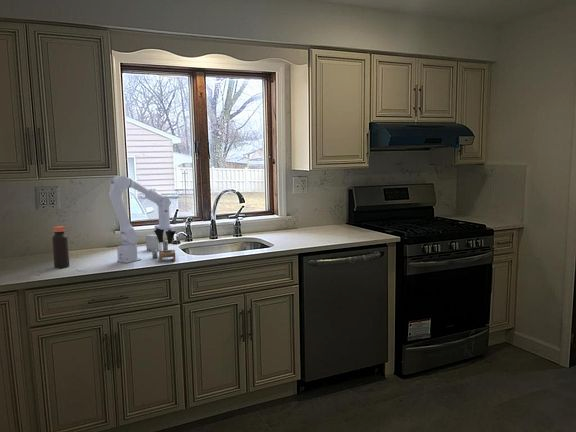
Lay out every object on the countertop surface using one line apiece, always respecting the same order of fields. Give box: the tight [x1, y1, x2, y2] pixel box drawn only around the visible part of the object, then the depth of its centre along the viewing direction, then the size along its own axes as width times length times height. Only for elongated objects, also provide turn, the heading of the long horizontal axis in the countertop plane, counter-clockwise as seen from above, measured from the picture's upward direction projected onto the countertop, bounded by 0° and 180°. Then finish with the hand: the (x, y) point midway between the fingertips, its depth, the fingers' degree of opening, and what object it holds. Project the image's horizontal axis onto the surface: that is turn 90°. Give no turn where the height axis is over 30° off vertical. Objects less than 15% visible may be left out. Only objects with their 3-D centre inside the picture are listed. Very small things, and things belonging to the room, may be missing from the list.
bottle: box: [51, 225, 70, 269], centre depth 231 cm, size 7×7×20 cm
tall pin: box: [162, 239, 169, 250], centre depth 257 cm, size 3×3×8 cm
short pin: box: [151, 250, 159, 260], centre depth 250 cm, size 3×3×4 cm
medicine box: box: [145, 234, 163, 252], centre depth 272 cm, size 8×4×9 cm, turn 74°
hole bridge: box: [158, 249, 176, 263], centre depth 244 cm, size 9×8×4 cm
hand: (165, 243), depth 257 cm, fingers open, 7 cm apart
